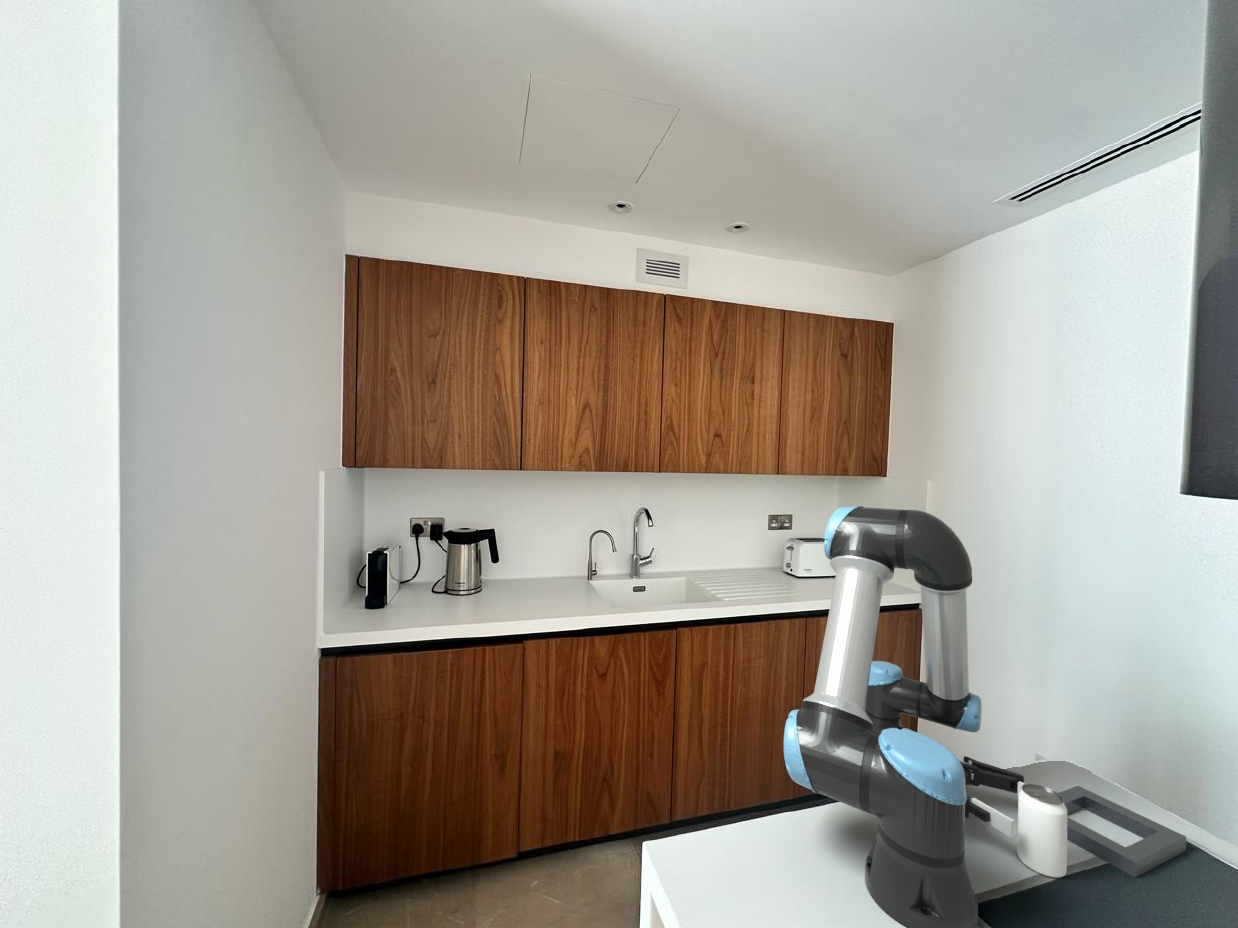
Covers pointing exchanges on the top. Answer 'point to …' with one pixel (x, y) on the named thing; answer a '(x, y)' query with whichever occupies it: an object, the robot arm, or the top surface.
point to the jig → (1137, 856)
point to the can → (1042, 830)
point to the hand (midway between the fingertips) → (1036, 819)
